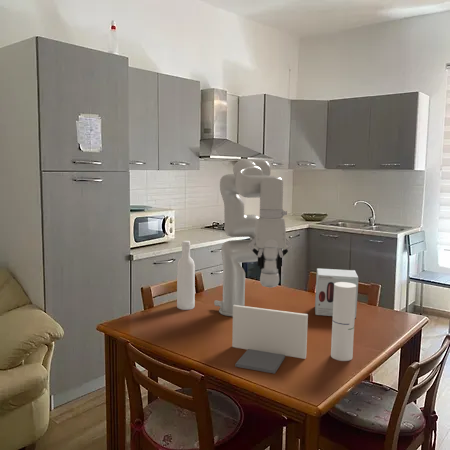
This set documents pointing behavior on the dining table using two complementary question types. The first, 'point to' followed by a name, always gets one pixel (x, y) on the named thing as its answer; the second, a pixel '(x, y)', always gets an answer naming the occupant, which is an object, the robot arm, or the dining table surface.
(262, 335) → the screen
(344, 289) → the cylindrical container
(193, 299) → the bottle
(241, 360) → the mat
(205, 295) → the dining table surface
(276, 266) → the plastic bottle
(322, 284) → the supplement box
